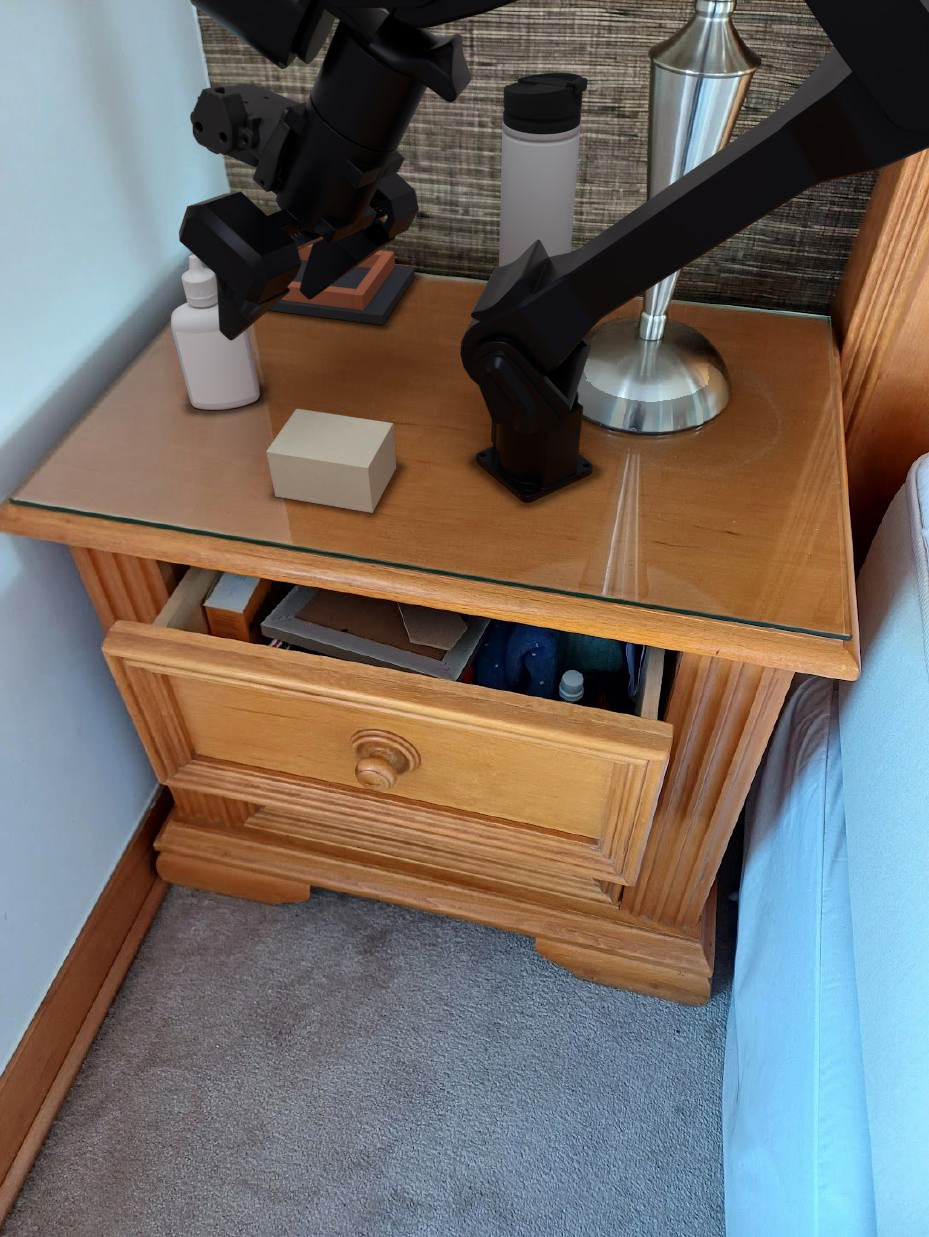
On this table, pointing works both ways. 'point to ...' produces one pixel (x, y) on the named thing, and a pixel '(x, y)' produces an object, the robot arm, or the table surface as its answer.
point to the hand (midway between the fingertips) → (267, 314)
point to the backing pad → (353, 291)
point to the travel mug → (539, 163)
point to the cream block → (332, 460)
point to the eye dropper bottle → (211, 347)
